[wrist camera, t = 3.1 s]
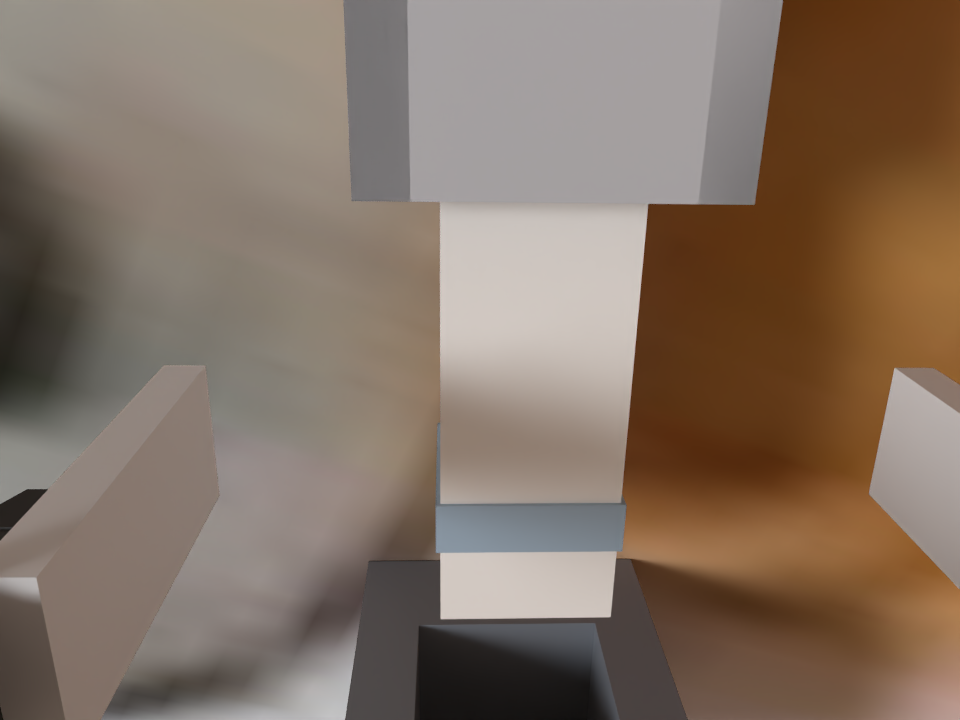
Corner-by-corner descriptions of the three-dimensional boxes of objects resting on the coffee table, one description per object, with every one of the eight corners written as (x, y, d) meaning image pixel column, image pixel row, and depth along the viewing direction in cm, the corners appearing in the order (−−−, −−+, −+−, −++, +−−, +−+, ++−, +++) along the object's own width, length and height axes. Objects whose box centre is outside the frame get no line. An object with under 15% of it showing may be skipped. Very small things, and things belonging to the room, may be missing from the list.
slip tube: (436, -312, 16) (431, -426, 12) (648, -305, 16) (712, -415, 12) (437, 522, 23) (436, 622, 19) (587, 521, 23) (615, 619, 19)
